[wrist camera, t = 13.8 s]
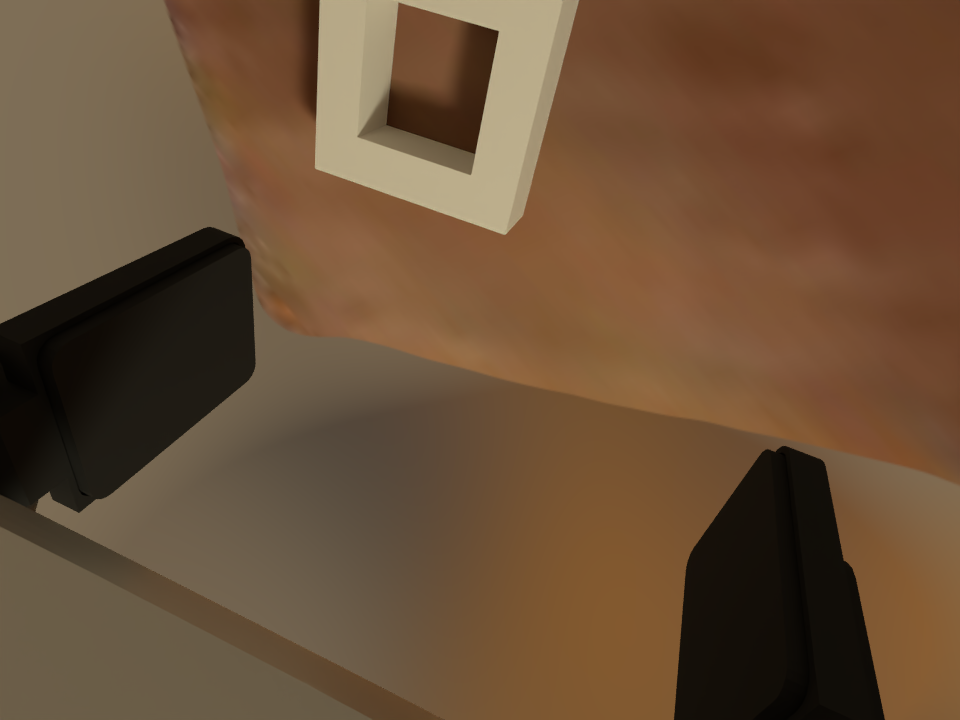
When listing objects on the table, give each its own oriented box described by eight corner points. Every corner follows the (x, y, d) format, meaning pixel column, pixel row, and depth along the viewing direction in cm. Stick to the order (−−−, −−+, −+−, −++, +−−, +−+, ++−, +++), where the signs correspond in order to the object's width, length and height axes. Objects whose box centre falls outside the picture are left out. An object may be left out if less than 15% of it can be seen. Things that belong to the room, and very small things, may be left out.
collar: (584, -21, 32) (568, -21, 29) (522, 215, 40) (505, 234, 37) (359, -80, 34) (322, -86, 31) (345, 154, 43) (315, 168, 40)
